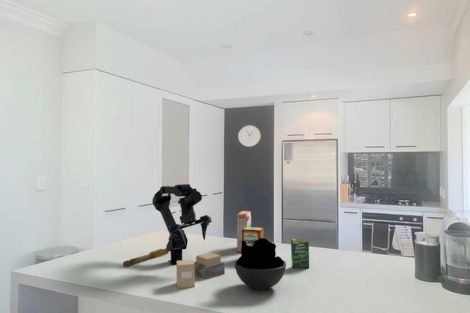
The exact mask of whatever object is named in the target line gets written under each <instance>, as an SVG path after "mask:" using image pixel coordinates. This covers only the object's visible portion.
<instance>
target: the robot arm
mask: <svg viewBox="0 0 470 313" xmlns="http://www.w3.org/2000/svg"><path fill="white" fill-rule="evenodd" d="M172 195H174V197H177V198H179V200H177V204H178V205H180V209H181V211H180V212H181V213H180V216H179V220H180V223H181V224H180V223H177V221H176V220H175V218H174V215H173V213H172V211H171V209H170V204H171V200H172ZM202 200H203V195H202V194H201V192H200V191H198V190H197V188H193V187H192V186H191V184H189V183H185V184H184V183H183V184H176V185H174V186H170V185H162V186H160V188H159V190H158V191H156V192H155V193H154V195H153V198H152V201H151V202H152V205H153V207H154V208H155V210H157V211H158V212H160V215H161V217H162V219H163V222H164V224H165V226H166V228H167V231H168V234H169V236H168V242H167V244H166V245H165V247H166V248H167V250H168V251H169V253H170V259H169V260H167V262H168V263H170V265H177V261H181V260H183V250H187V247H188V242H189V241H188V240H189V239H188V238H187V235H186V233H185V230H184V229H187V228H189V227H192V226H195V225H199V224H200V227H201V233H202V239H203V241H205V240H206V235H207V228H208V227H209V225H210V223H212V217H211V216H209V215H207V214H205V215H202V216H199V219H197V218H196V217H197V216H196V212H195V210H194V207H195V206H196V205H197V204H200V202H202Z"/></svg>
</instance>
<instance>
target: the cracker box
mask: <svg viewBox="0 0 470 313" xmlns="http://www.w3.org/2000/svg"><path fill="white" fill-rule="evenodd" d="M236 222H237V223H236V225H237V226H236V227H237V228H236V232H237V234H236V240H237V241H236V245H237V246H236V252H237V253H242V252H241V247H242V229H243V228H245V227H252V211H250V210H242V211H240V212H238V213H237V221H236Z"/></svg>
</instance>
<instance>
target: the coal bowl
mask: <svg viewBox="0 0 470 313" xmlns="http://www.w3.org/2000/svg"><path fill="white" fill-rule="evenodd" d="M276 249H277V244H276V243H274V242H271V241H270V240H268V239H266V238H265V237H264V238H260V239H258V240H257V241H254V244H253V246H248V245H246V242H245V241H244V240H243V241H242V247H241V252H240V254H241V255H240V256H239V257H238V258H237V259H236V260H235V261H234V269H235V272H236V274H237V277H238V278H239V280H240V281H241V282H242V283H243V284H244V285H246V286H247V287H249V288H251V289H254V290H259V291H260V290H262V291H263V290H267V289H270V288H273V287H275V286H276V285H277V284H278V283H279V282H280V281H281V280H282V279H283V276H284V275H285V272H286V268H287V262H286V261H285V260H283V259H282V257H280V256H276V255H277V253H276Z"/></svg>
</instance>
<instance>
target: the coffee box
mask: <svg viewBox="0 0 470 313" xmlns="http://www.w3.org/2000/svg"><path fill="white" fill-rule="evenodd" d="M290 252H291V253H290V254H291V255H290V256H291V258H290V259H291V268H292V269H310V244H309V239H308V238H296V239H294V238H293V239H291V240H290Z"/></svg>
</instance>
